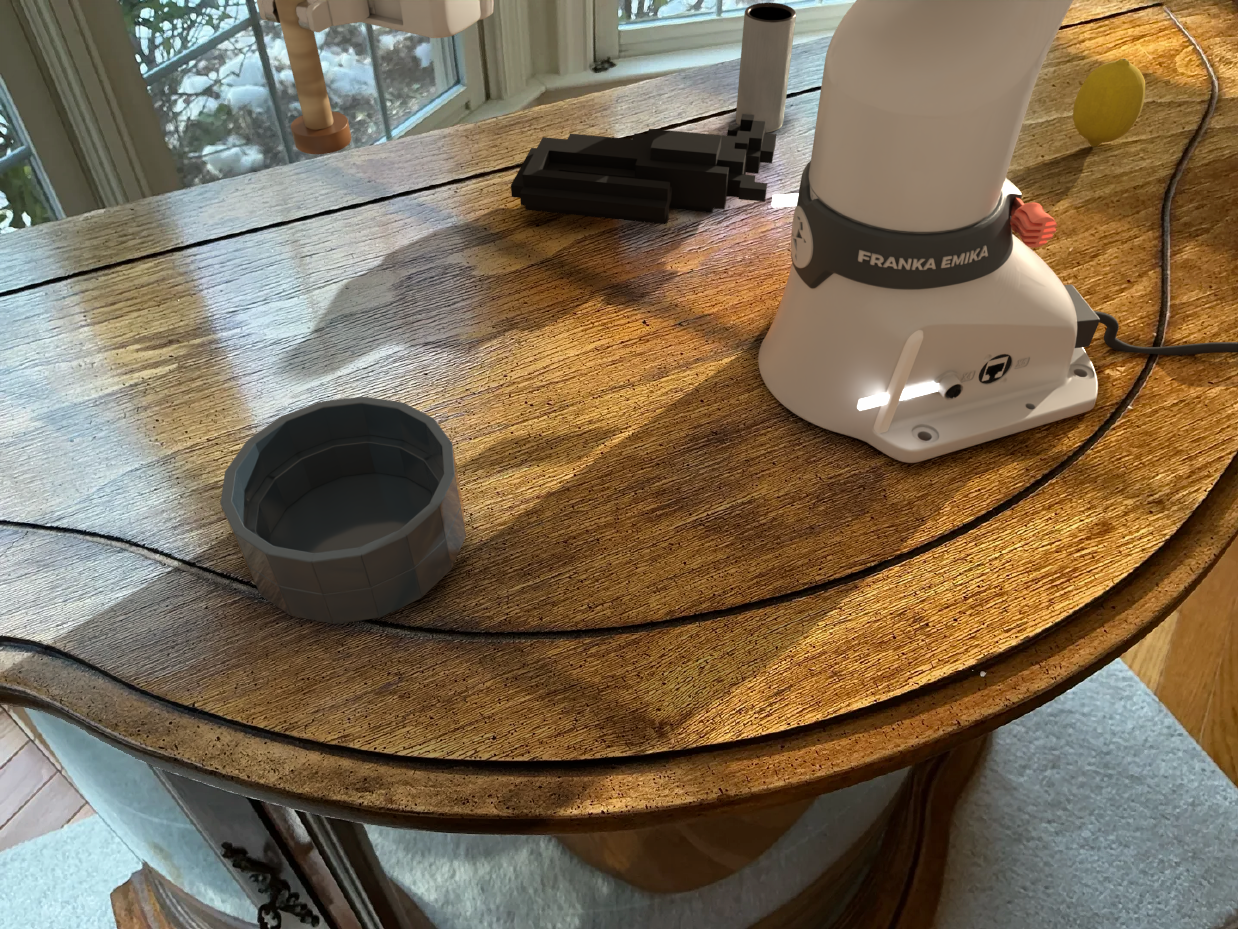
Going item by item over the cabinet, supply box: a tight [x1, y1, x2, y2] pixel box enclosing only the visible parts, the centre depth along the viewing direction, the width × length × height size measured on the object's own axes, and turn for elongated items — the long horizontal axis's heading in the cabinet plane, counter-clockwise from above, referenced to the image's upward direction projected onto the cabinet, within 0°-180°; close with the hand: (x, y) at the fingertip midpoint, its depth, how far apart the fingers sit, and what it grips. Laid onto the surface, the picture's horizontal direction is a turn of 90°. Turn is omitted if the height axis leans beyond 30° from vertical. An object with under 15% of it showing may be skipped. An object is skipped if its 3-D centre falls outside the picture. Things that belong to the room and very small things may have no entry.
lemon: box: [1072, 57, 1146, 147], centre depth 88 cm, size 6×6×8 cm
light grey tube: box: [735, 1, 797, 133], centre depth 91 cm, size 4×4×10 cm
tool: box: [510, 114, 778, 226], centre depth 83 cm, size 5×20×15 cm
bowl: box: [220, 396, 467, 625], centre depth 55 cm, size 12×12×6 cm
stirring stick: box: [275, 0, 353, 155], centre depth 72 cm, size 4×4×18 cm
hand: (285, 15), depth 70 cm, fingers closed on stirring stick, 2 cm apart
